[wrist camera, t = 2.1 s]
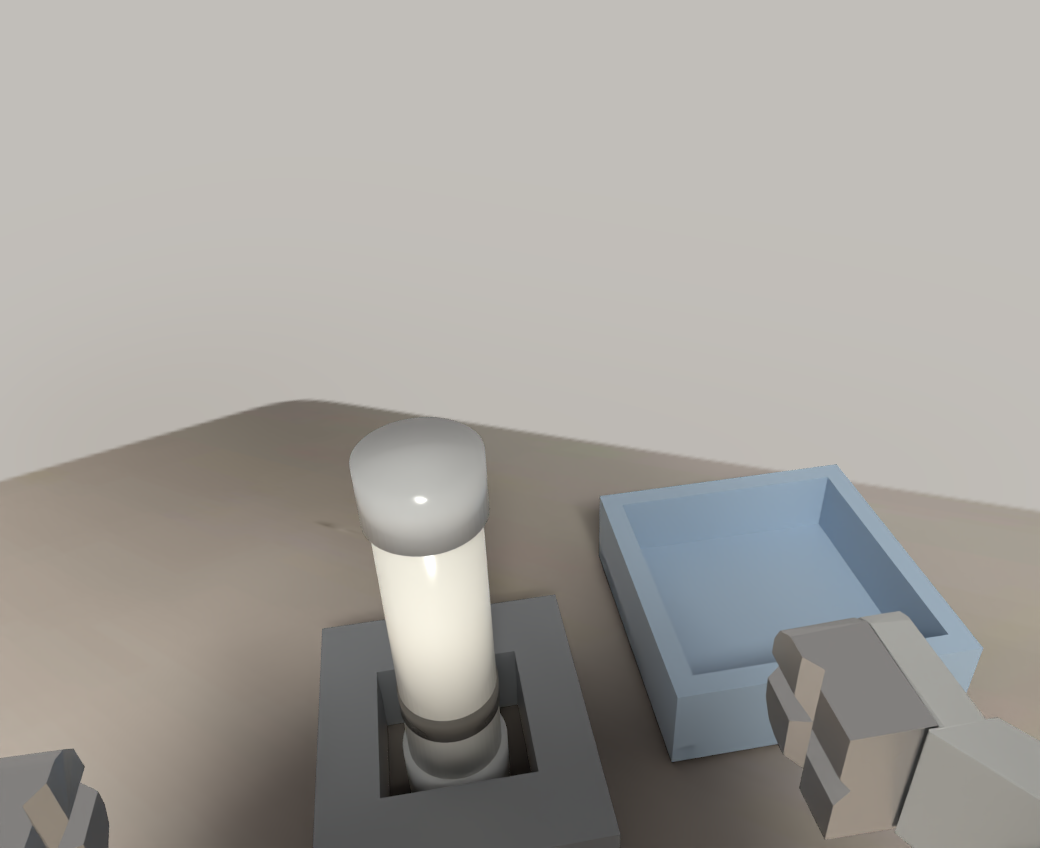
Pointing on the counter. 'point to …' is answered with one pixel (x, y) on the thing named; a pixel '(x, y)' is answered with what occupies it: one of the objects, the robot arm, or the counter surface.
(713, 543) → the parts tray
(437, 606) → the fuse
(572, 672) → the block
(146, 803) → the counter surface
